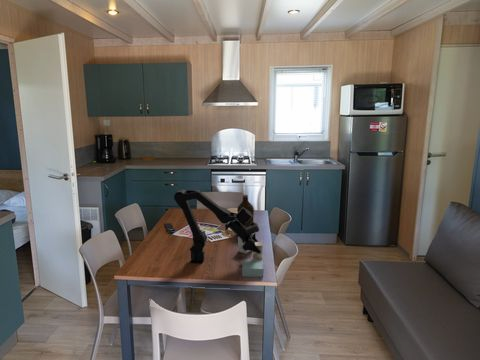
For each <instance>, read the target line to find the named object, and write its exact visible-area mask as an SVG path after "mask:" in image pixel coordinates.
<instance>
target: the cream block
mask: <svg viewBox="0 0 480 360" xmlns="http://www.w3.org/2000/svg"><path fill="white" fill-rule="evenodd" d="M263 244H264V242H263V241H258V242H255V245H256V246H257V247H258V249H259V250H260V251H261V253H260V254H259V253H256V252H253V251H252V260H263V257H264V255H263V253H264V252H263V251H264V250H263V249H264V248H263V246H264V245H263ZM263 261H264V260H263Z"/></svg>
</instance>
